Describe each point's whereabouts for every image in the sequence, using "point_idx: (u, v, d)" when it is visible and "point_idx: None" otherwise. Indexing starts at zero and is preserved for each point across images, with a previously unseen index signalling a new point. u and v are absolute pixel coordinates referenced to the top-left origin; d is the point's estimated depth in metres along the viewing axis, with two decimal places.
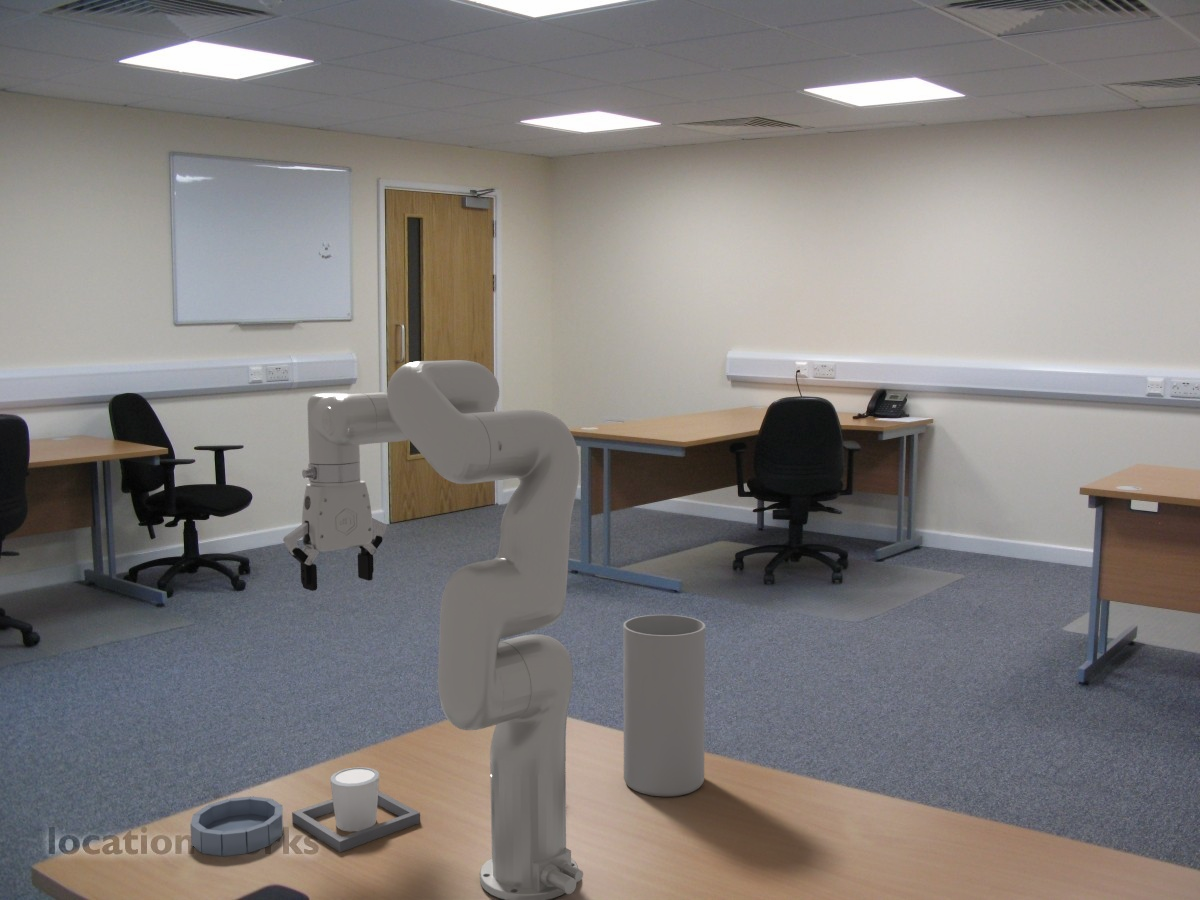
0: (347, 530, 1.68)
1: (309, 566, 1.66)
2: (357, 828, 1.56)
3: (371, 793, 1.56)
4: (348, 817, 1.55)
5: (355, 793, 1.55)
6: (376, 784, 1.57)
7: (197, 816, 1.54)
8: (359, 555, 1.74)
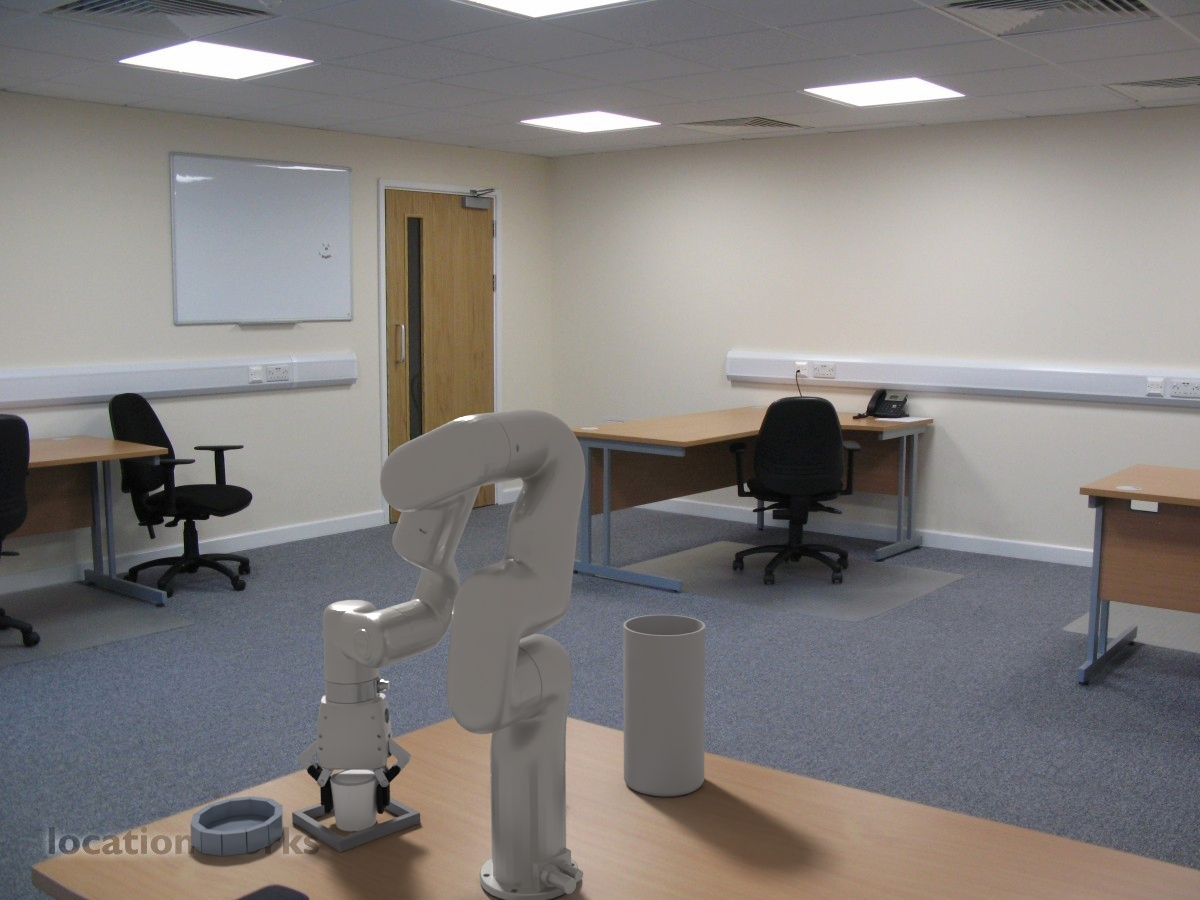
0: None
1: None
2: (357, 827, 1.56)
3: (371, 793, 1.56)
4: (348, 817, 1.55)
5: (355, 793, 1.55)
6: (376, 784, 1.57)
7: (197, 816, 1.54)
8: (329, 787, 1.57)
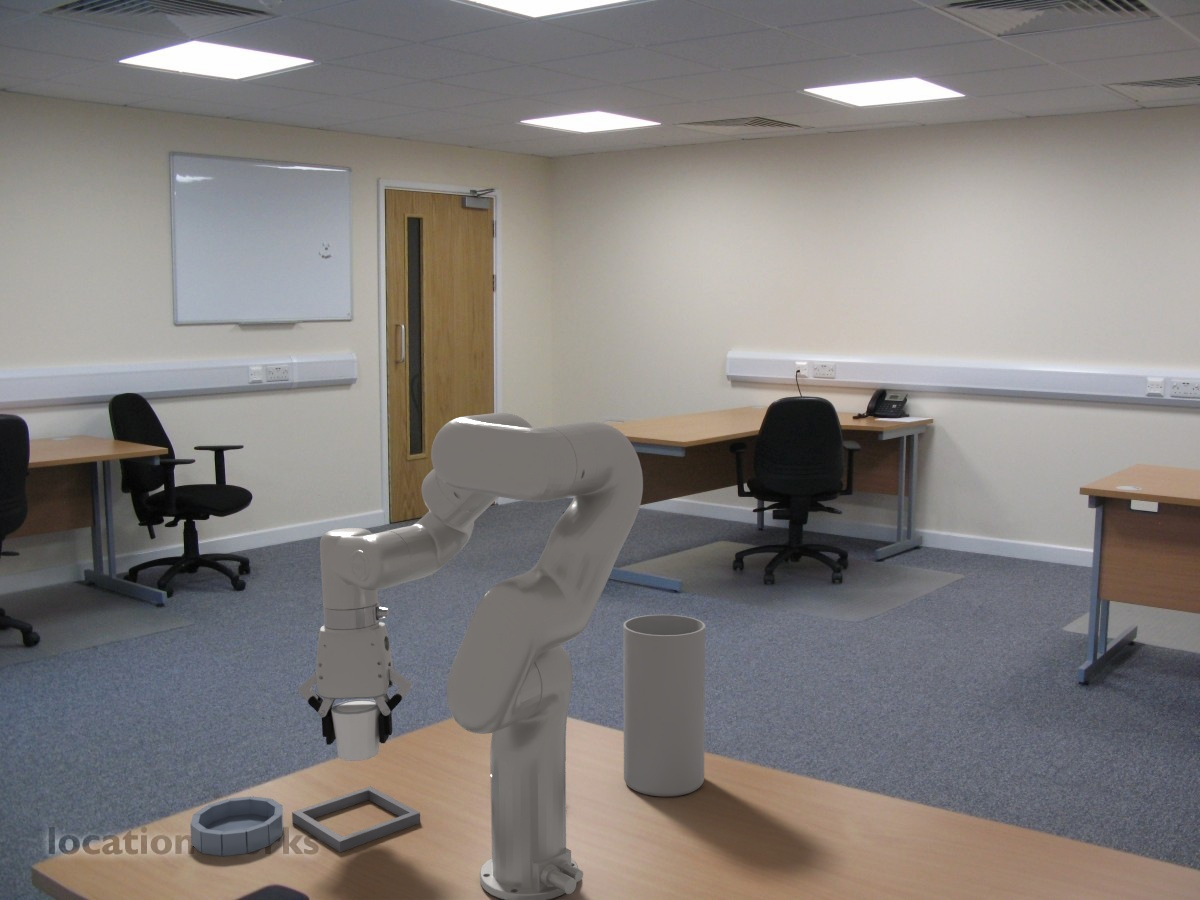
0: None
1: None
2: (360, 757, 1.54)
3: (373, 722, 1.55)
4: (350, 746, 1.54)
5: (356, 721, 1.53)
6: (378, 713, 1.56)
7: (197, 816, 1.54)
8: (331, 718, 1.56)
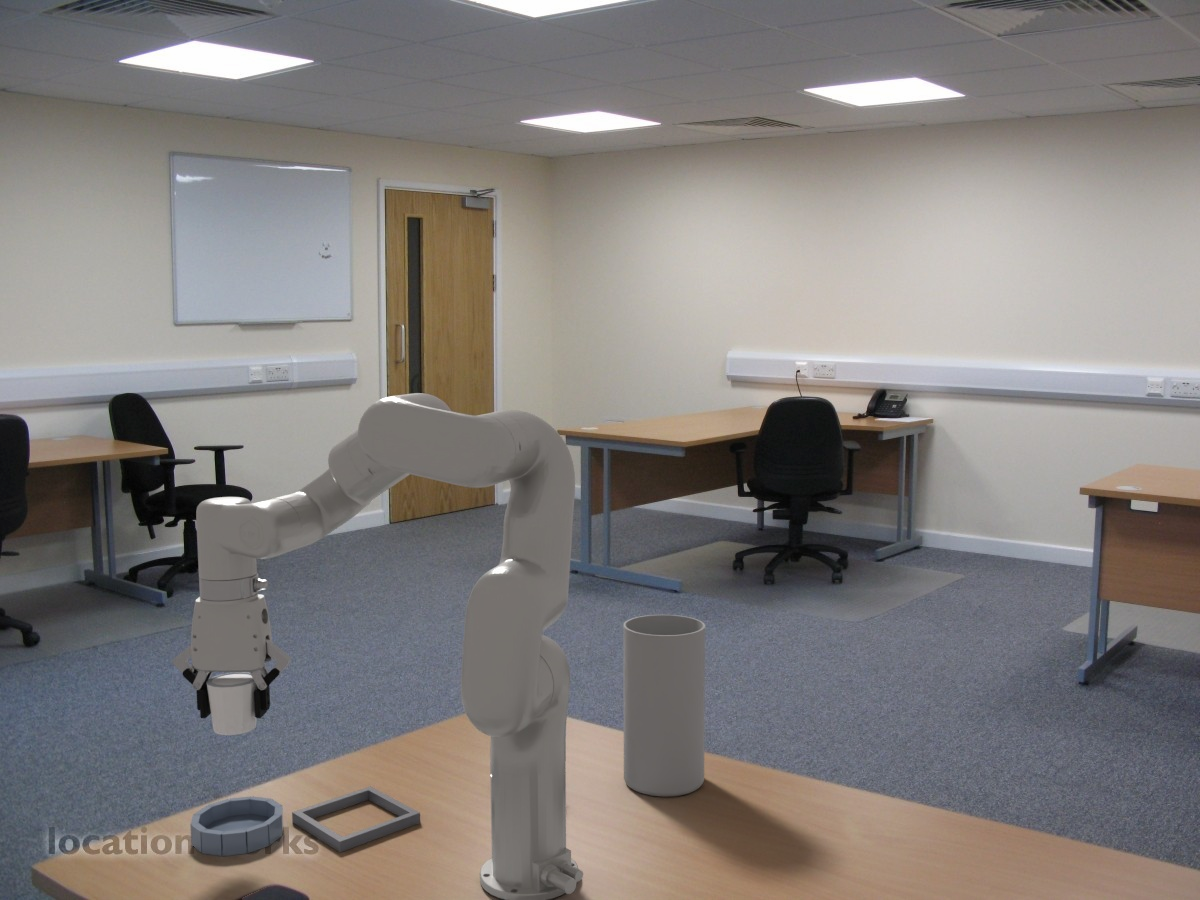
0: None
1: None
2: (234, 731, 1.50)
3: (248, 696, 1.51)
4: (223, 720, 1.50)
5: (230, 695, 1.49)
6: (254, 687, 1.52)
7: (197, 816, 1.54)
8: (206, 691, 1.52)
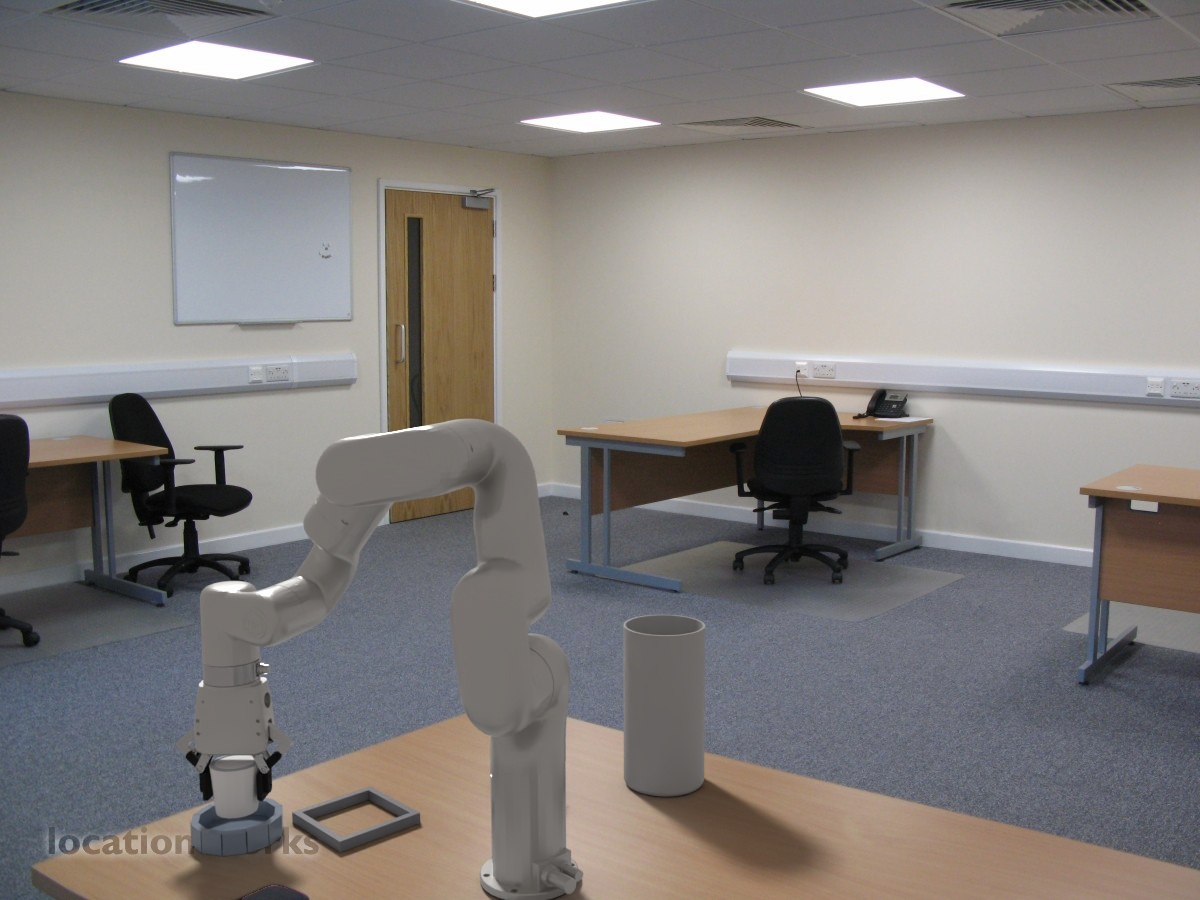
0: None
1: None
2: (236, 814, 1.51)
3: (251, 779, 1.52)
4: (226, 803, 1.51)
5: (233, 779, 1.51)
6: (256, 770, 1.53)
7: (197, 816, 1.54)
8: (208, 773, 1.53)
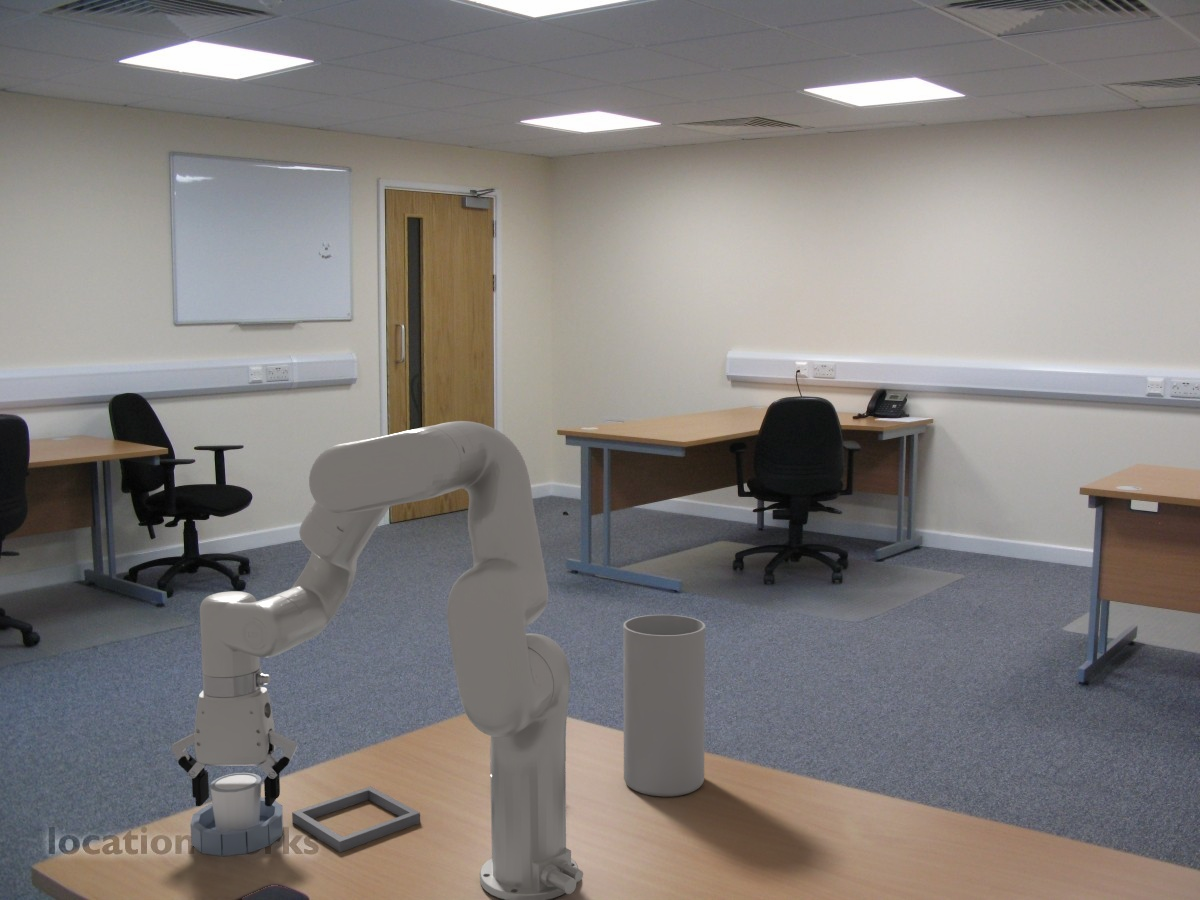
0: None
1: None
2: None
3: (251, 799, 1.52)
4: (227, 824, 1.51)
5: (233, 799, 1.51)
6: (257, 790, 1.53)
7: (197, 816, 1.54)
8: (201, 779, 1.53)
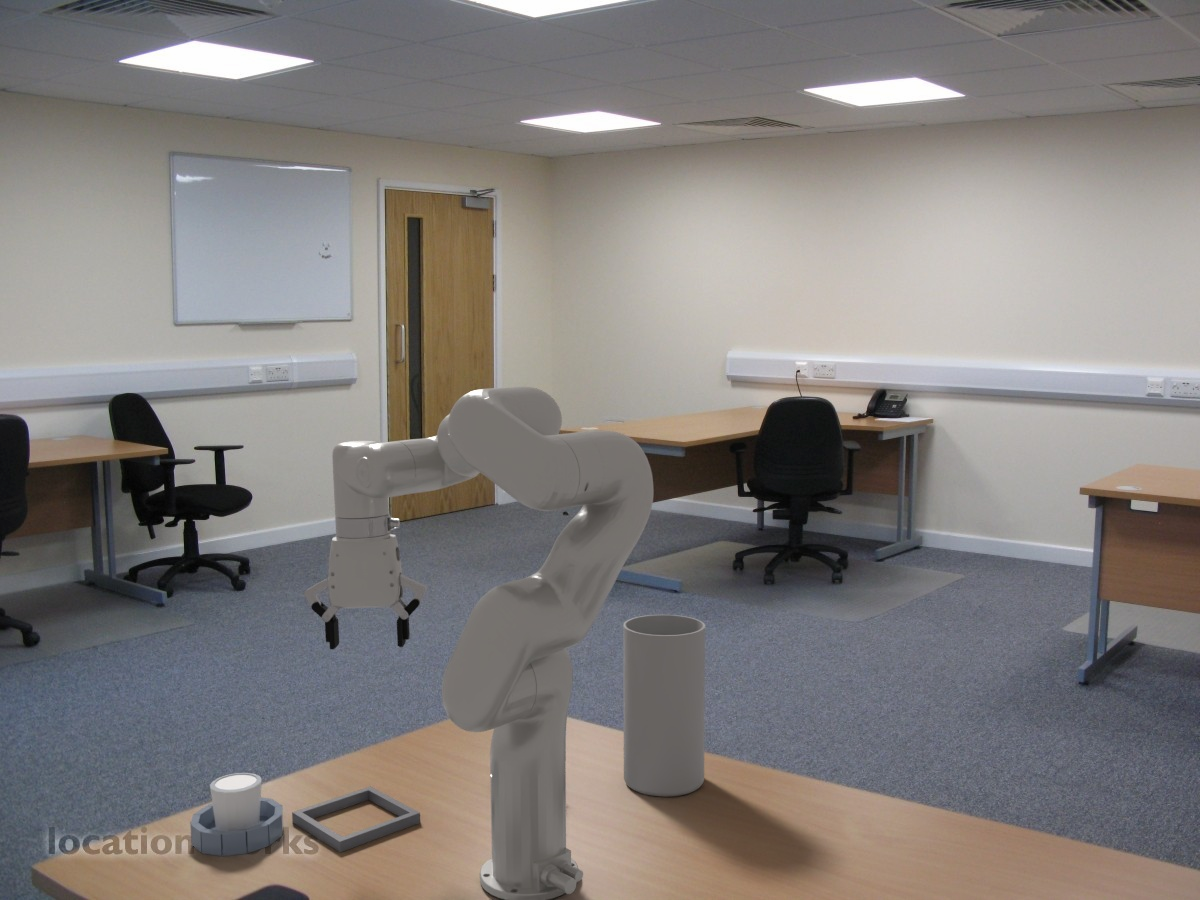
0: None
1: None
2: None
3: (251, 799, 1.52)
4: (227, 824, 1.51)
5: (233, 799, 1.51)
6: (257, 790, 1.53)
7: (197, 816, 1.54)
8: (334, 623, 1.58)
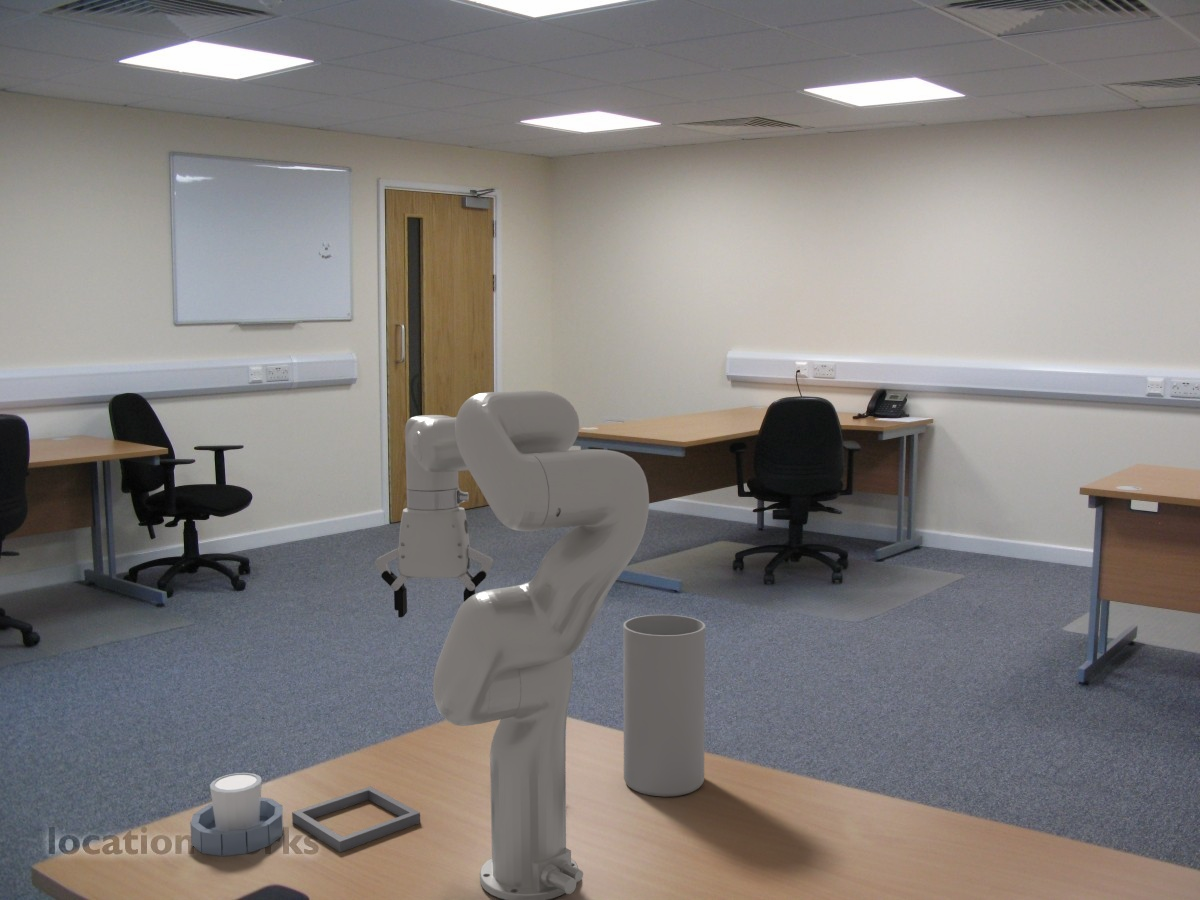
0: None
1: None
2: None
3: (251, 799, 1.52)
4: (227, 824, 1.51)
5: (233, 800, 1.51)
6: (257, 790, 1.53)
7: (197, 816, 1.54)
8: (403, 592, 1.62)
